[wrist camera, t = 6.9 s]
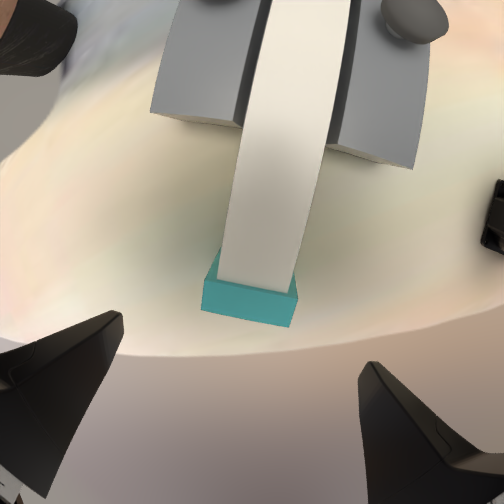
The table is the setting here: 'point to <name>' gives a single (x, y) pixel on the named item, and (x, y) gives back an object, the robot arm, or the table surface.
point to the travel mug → (34, 36)
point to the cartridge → (278, 161)
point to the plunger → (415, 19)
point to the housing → (348, 88)
